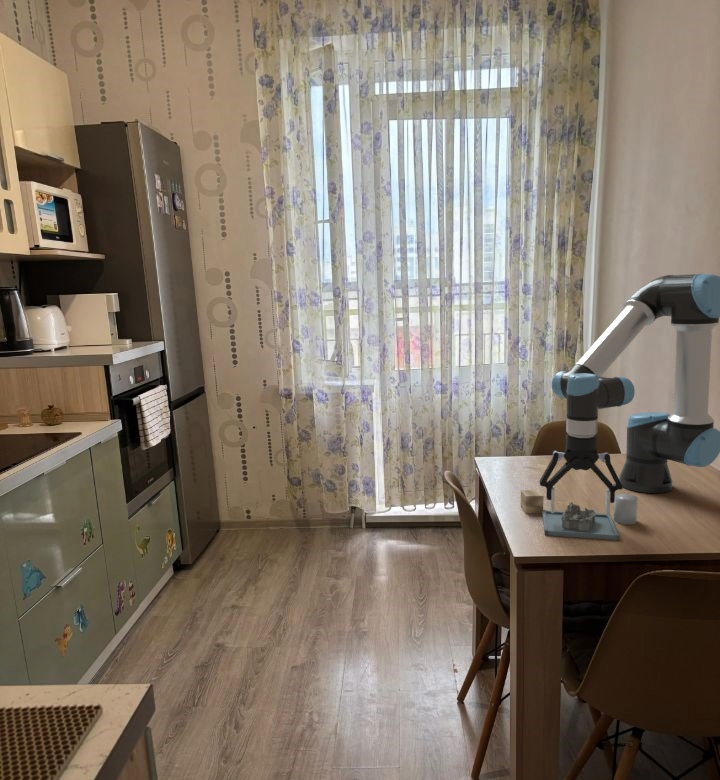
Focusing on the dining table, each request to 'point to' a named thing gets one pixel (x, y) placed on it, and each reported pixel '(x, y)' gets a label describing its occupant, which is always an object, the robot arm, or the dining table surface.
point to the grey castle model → (578, 518)
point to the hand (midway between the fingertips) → (579, 512)
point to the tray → (598, 530)
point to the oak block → (532, 501)
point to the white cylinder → (625, 509)
